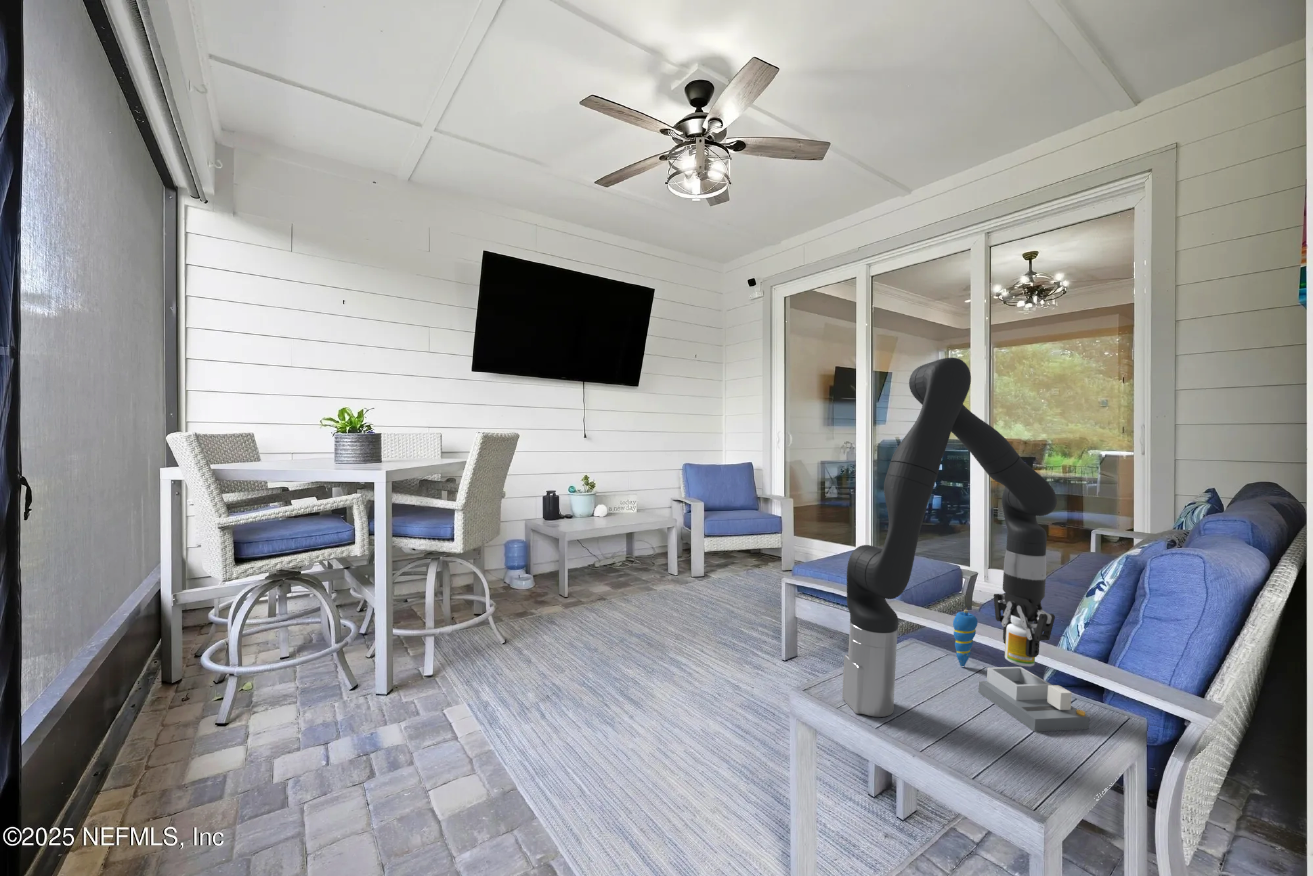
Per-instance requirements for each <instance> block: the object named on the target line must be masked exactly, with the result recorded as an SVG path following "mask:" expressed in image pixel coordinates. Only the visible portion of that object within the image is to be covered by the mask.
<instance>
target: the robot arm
mask: <svg viewBox="0 0 1313 876" xmlns="http://www.w3.org/2000/svg"><path fill="white" fill-rule="evenodd" d="M971 382H972V375H971V370H970V368H969V366H968V364H967V363H966V362H965V361H964V360H962V359H960V358H958V357H943V358H940V359H937V360H934V361H931V362H927V363H925V364H922V365H920V366H917V368H915V369H914V370H913V371H912V373H911V374H910V377H909V381H908V387H909V391H910V393H911V394H912V396H913V397H914V398H915V399H916V401H918V402H919V404H920V405H921V409H920V412H919V414H918V417H916V418H917V419H916V421H914V424H913V425H912V427H911V428H910V429H909V430H908V432H907V433H906V435H905V436H904V437H903V438H902V440H901V441H900V443H899V444H898V446H897V447H896V449H895V451H894V453H893V454H892V456H891V460H890V462H889V465H888V468H887V472H886V476H885V479H884V482H883V492H884V499H885V500H884V501H885V505H886V506H885V507H886V509H887V516H888V527H887V532H886V537H885V540H884V543H883V547H882V548H880V547H877V546H874V545H870V544H869V545H868V544H863V545H860V546H858V547H857V548H856V547H855V549H854V550H853V551H852V553H851V554H850V556H849V558H848V561H847V567H846V605H847V609H848V612H849V635H848V652H847V653H848V654H845V655H844V657H843V674H842V675H843V677H842V691H841V693H842V694H841V695H842V696H841V698H842V700H843V701H844V702H845V704H847V706H848V707H850V708H851V710H852V712H854V713H855V714H859V715H860V714H862V715H865V716H868V717H873V718H874V717H876V718H881V717H883V718H885V717H888V716H891V715H892V714H893V712H894V706H895V705H894V704H895V687H896V686H895V685H896V664H897V663H896V662H897V650H898V649H897V647H898V646H897V644H898V631H899V630H898V629H899V628H898V627H899V617H898V614H897V612H896V611H895V610H894V609H893V608H892V607H891V606H890V604H889V603H888V601H887V600H894V599H897V598H898V597H899V596H901V595H902V594H903V592H904V591H905V589H906V588H907V586H908V584H909V581H910V578H911V575H912V571H913V566H914V560H915V555H916V551H917V546H918V541H919V538H920V537H919V535H920V532H921V528H922V525H923V522H924V518H925V515H926V511H927V508H928V505H929V501H930V499H931V495H932V493H933V492H934V491H933V490H934V487H935V484H936V481H937V478H938V475H939V471H940V469H941V463H942V460H943V458H944V454H945V451H946V449H947V447H948V443H949V439H950V436H951V434H953V436H955V437H956V438H957V440H959V441H960V442H961V444H963V446H964V447H965V448H966V449H967V450H968V451H969V453H971V455H972V456H973V457H974V459H975V460H976V462H977V463H978V464H979V465H980V466H981V467H982V469H983V470H984V471H985V473H986V474H987V475H988V476H989V477H990V478H991V479H992V480H993V481H995V482H997V483H999V484H1001V485H1002V486H1004V489H1003V492H1002V495H1001V507H1002V511H1003V517H1004V522H1005V526H1006V529H1007V533H1006V545H1005V546H1006V549H1005V554H1004V560H1003V575H1002V576H1003V577H1002V591H1003V592H1004V593H994V594H993V603H994V604H993V605H994V615H995V620H996V621H997V622H1000V623H1001V626H1002V629H1003V631H1002V640H1003V644H1005V643H1006V628H1007V625H1009V624H1012V622H1011V615H1013V616H1016V617H1018V618H1020V619H1021V623H1022V626H1023V628H1025V630H1026V634H1027V638H1028V639H1026V655H1027V656H1028V657H1035V658H1037V657H1038V656H1039V654H1040V645H1041V644H1040V643H1041V641H1049V640H1050V639H1051V635H1052V631H1053V628H1054V627H1053V626H1054V623H1055V619H1056V617H1055V615H1054V613H1048V612H1046V611H1045V610H1044V609H1043V606H1042V601H1043V600H1044V598H1045V597H1046V583H1047V581H1046V580H1047V558H1046V556H1047V555H1046V554H1047V532H1046V530H1045V528H1043V527H1042V526H1041V525H1039V523H1038V521H1037V517H1044V516H1046V515H1047V516H1048V515H1050V514H1051V513H1052V512H1053V511H1055V509H1056V508H1057V504H1058V498H1057V494H1056V492H1055V490H1054V488H1053V486H1052V485H1050V483H1049V482H1048V481H1047V480H1046V478H1043V476H1041V475H1040V474H1039V473H1038V472H1037V471H1036V470H1035V469H1033V467H1031V466H1030V465H1028V464H1027V463H1026V462H1025V461H1024V460H1023V459H1022V457H1021V456H1020V454H1019V453H1018V452H1017V451H1016V450H1015V448H1014V447H1013V446H1012V445H1011V443H1010V442H1009V440H1007V439H1006V438H1005V437H1004V436H1003V435H1002V433H1000V432H999V430H997V429H995V428H994V427H992V425H990V424H989V423H987V422H986V421H984V420H982V419H981V418H979V417H978V416H977V415H976V414H974V413H973V412H972V411H971V410H970V409H969V408H968V407H966V406H965V404H964V402H965V400H966V398H967V395H968V393H969V391H970V388H971ZM1001 611H1002V612H1001ZM1028 622H1033V624H1029V623H1028ZM1032 628H1033V629H1034V633H1035V634H1033V633H1032Z"/></svg>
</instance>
